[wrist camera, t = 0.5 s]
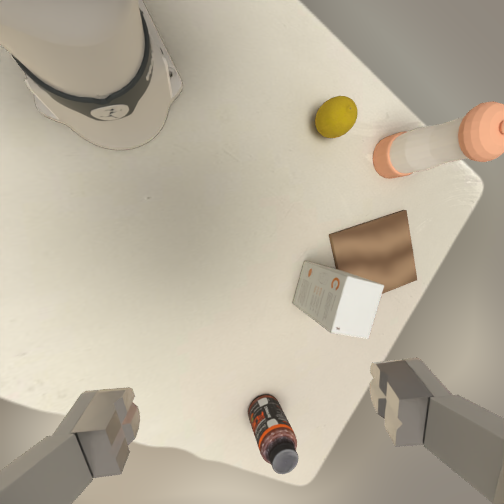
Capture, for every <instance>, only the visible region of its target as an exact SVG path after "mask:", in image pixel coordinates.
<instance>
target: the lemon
mask: <svg viewBox="0 0 504 504" xmlns="http://www.w3.org/2000/svg"><path fill="white" fill-rule="evenodd" d="M356 119H357V107H356V105H355V103H354V101H353V100H352V99H350V98H348V97H345V96H337V97H334V98H331V99H329V100H328V101H326V102H325V103H324V104H323V105H322V106H321V107H320V108H319V110H318V112H317V114H316V118H315V125H316V128H317V130H318V132H319V133H320V134H321V135H322V136H324V137H327V138H336V137H340V136H342V135H344V134H345V133H347V132H348V131H349V130H350V129H351V128H352V127H353V125H354V123H355V121H356Z"/></svg>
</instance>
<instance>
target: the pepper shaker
mask: <svg viewBox="0 0 504 504" xmlns="http://www.w3.org/2000/svg"><path fill="white" fill-rule="evenodd" d="M503 153H504V104H501V103H497V102H486V103H481V104H479V105H478V106H476V107H474V108H473V109H471V110H470V111H469V112H468V113H467V114H466V116H464V117H461V118H458V119H455V120H452V121H449V122H446V123H443V124H438V125H432V126H426V127H420V128H416V129H414V130H411V131H409V132H399V133H397V134H394V135H391V136H388V137H386V138H384V139H382V140H381V141H380V142H379V143H378V144H377V145H376V147H375V150H374V154H373V163H374V167H375V169H376V171H377V172H378V173H379V174H380V175H381V176H383V177H384V178H396V177H402V176H407V175H410V174H411V173H413V172H420V171H425V170H428V169H431V168H434V167H437V166H439V165H442V164H445V163H448V162H453V161H458V160H463V159H468V158H469V159H471V160H474V161H479V162H486V161H490V160H493V159H495V158H497V157H498V156H500V155H501V154H503Z"/></svg>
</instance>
